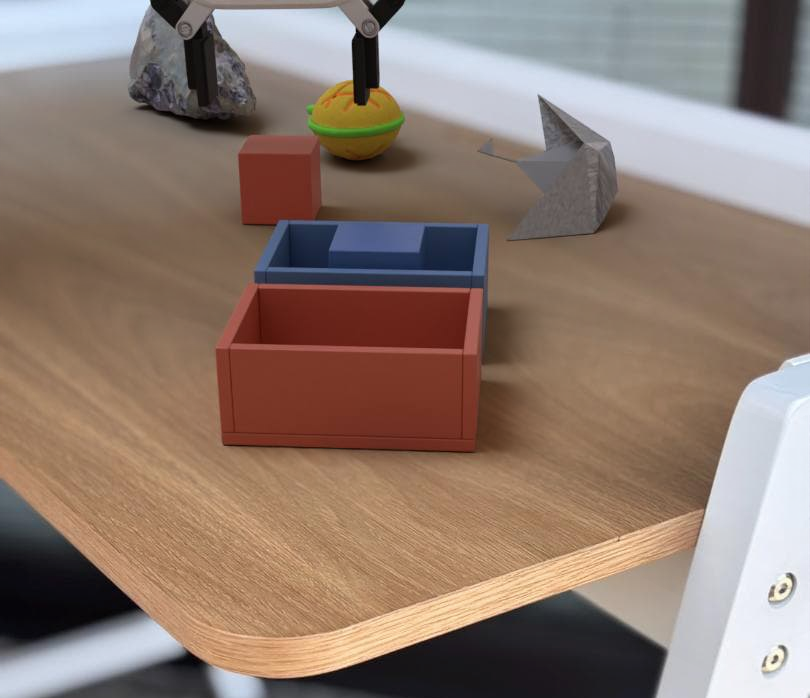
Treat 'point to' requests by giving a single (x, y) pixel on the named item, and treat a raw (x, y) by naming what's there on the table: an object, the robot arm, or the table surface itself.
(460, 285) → the blue bin
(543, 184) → the grey faceted pointed figurine
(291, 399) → the terracotta bin
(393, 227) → the blue block
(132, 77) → the mineral rock
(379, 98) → the yellow round piece
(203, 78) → the robot arm
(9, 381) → the table surface
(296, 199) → the terracotta block
